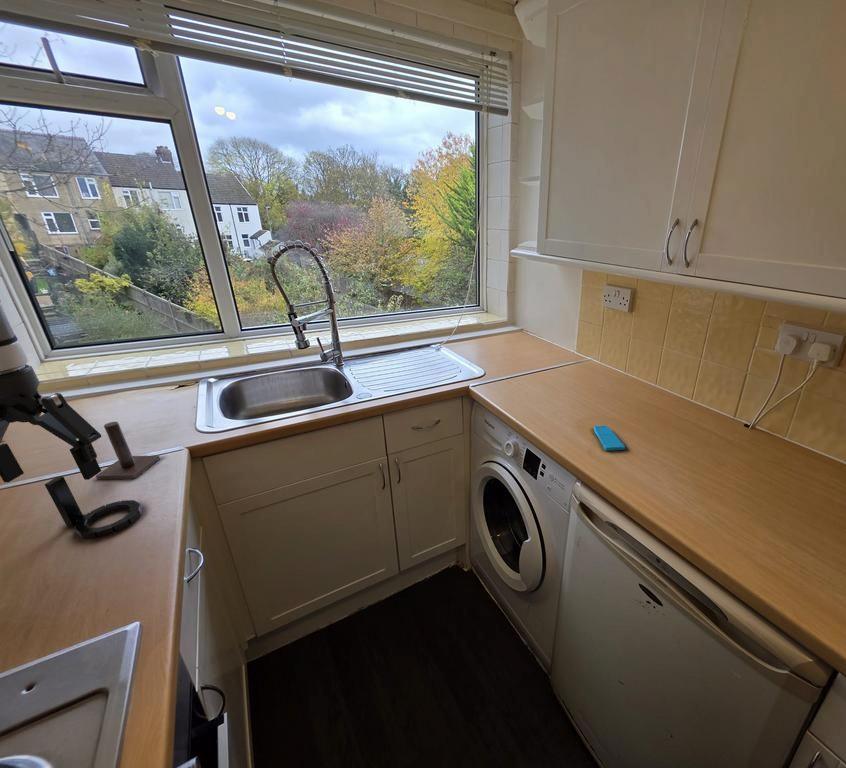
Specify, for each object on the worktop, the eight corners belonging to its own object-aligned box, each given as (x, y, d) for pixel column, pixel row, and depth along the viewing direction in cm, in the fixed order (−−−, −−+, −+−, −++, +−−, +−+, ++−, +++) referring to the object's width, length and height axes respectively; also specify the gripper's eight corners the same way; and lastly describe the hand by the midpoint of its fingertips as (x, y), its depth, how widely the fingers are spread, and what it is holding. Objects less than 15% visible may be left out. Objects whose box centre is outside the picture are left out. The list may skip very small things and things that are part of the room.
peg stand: (97, 479, 91) (75, 433, 87) (125, 459, 99) (107, 415, 94) (134, 478, 92) (115, 432, 87) (160, 458, 99) (143, 415, 95)
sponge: (612, 425, 118) (593, 423, 117) (627, 447, 107) (606, 446, 106) (611, 430, 118) (592, 428, 117) (625, 452, 107) (604, 451, 106)
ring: (153, 504, 84) (136, 464, 80) (117, 537, 76) (96, 494, 72) (93, 506, 83) (73, 466, 79) (49, 540, 75) (24, 496, 71)
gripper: (97, 360, 71) (140, 462, 79) (-59, 363, 69) (3, 466, 78) (56, 377, 64) (108, 486, 72) (-118, 380, 62) (-44, 492, 71)
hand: (54, 476), depth 75 cm, fingers open, 13 cm apart
